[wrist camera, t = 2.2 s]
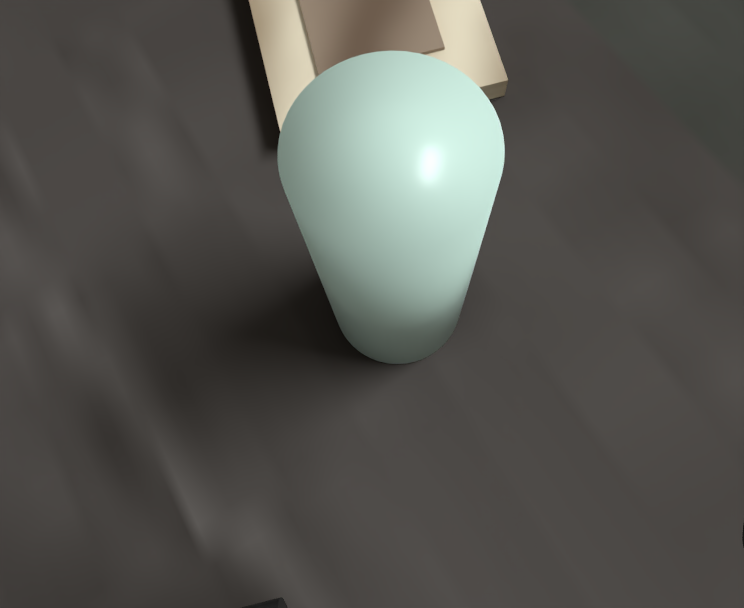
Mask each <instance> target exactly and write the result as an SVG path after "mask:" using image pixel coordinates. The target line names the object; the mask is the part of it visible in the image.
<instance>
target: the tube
mask: <svg viewBox="0 0 744 608" xmlns="http://www.w3.org/2000/svg"><path fill="white" fill-rule="evenodd" d="M504 151H505V147H504V138H503V132H502V128H501V124H500V121H499V119H498V116H497V114H496V111H495V109H494V107H493V106H492V104H491V102H490V101H489V99H488V97H487V96H486V95H485V94H484V92H483V91H482V90H481V89H480V87H479V86H478V85H477V84H476V83H475V82H473V81H472V80H471V79H470V78H469V77H468V76H467V75H465V74H464V73H463V72H461V71H460V70H458V69H457V68H455V67H453V66H451V65H450V64H448V63H446V62H444V61H441V60H439V59H436V58H434V57H431V56H427V55H424V54H420V53H414V52H408V51H378V52H372V53H367V54H362V55H359V56H356V57H352V58H349V59H347V60H345V61H342V62H340V63H338V64H336V65H334V66H332V67H331V68H329V69H327V70H326V71H324V72H323V73H321V74H320V75H319V76H317V77H316V78H315V79H314V80H312V81H311V82H310V83H309V84H308V85H307V86H306V87H305V88H304V89H303V91H302V92H301V93H300V94H299V96H298V97H297V98H296V99H295V101H294V102H293V104H292V106H291V107H290V109H289V111H288V113H287V115H286V118H285V120H284V122H283V125H282V128H281V132H280V136H279V142H278V168H279V174H280V179H281V182H282V185H283V188H284V191H285V193H286V196H287V198H288V201H289V203H290V206H291V208H292V211H293V213H294V216H295V218H296V221H297V223H298V226H299V228H300V231H301V233H302V235H303V238H304V240H305V243H306V245H307V248H308V250H309V253H310V255H311V258H312V260H313V263H314V265H315V268H316V270H317V273H318V275H319V278H320V280H321V282H322V285H323V287H324V290H325V292H326V295H327V297H328V300H329V302H330V305H331V307H332V310H333V312H334V315H335V317H336V320H337V322H338V325H339V327H340V329H341V331H342V333H343V334H344V336H345V337H346V339H347V340H348V341H349V342H350V344H351V345H352V346H353V347H354V348H356V349H357V350H358V351H359V352H361V353H362V354H364V355H365V356H367V357H369V358H371V359H374V360H377V361H379V362H384V363H389V364H406V363H411V362H416V361H419V360H422V359H424V358H426V357H428V356H430V355H431V354H433V353H435V352H436V351H437V350H438V349H440V348H441V347H442V346H443V345H444V344H445V343H446V342H447V340H448V339H449V338H450V336H451V335H452V333H453V332H454V329H455V327H456V325H457V322H458V319H459V316H460V313H461V310H462V306H463V303H464V299H465V296H466V293H467V289H468V286H469V283H470V279H471V276H472V273H473V269H474V266H475V263H476V259H477V256H478V253H479V249H480V246H481V242H482V239H483V236H484V232H485V229H486V226H487V222H488V219H489V216H490V212H491V209H492V206H493V202H494V199H495V196H496V192H497V189H498V185H499V182H500V179H501V175H502V170H503V165H504Z"/></svg>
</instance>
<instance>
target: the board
mask: <svg viewBox="0 0 744 608" xmlns="http://www.w3.org/2000/svg"><path fill="white" fill-rule="evenodd" d="M249 3H250V7H251V12H252V16H253V20H254V24H255V28H256V32H257V37H258V41H259V45H260V49H261V53H262V58H263V62H264V66H265V70H266V74H267V79H268V83H269V87H270V91H271V95H272V99H273V104H274V108H275V112H276V116H277V120H278V125H279V129H280V132H281V128H282V125H283V122H284V120H285V118H286V115H287V113H288V111H289V109H290V107H291V106H292V104H293V102H294V101H295V99H296V98H297V97H298V96H299V94H300V93H301V92H302V91H303V89H304V88H305V87H306V86H307V85H308V84H309V83H310V82H311V81H312V80H314V79H315V78H316V77H317V76H319V75H320V74H321V73H323V72H324V71H326V70H327V69H329V68H331V67H332V66H334V65H336V64H338V63H340V62H342V61H345V60H347V59H349V58H352V57H356V56H359V55H362V54H367V53H372V52H378V51H408V52H414V53H420V54H424V55H427V56H431V57H434V58H436V59H439V60H441V61H444V62H446V63H448V64H450V65H451V66H453V67H455V68H457V69H458V70H460V71H461V72H463V73H464V74H465V75H467V76H468V77H469V78H470V79H471V80H472V81H473V82H475V83H476V84H477V85H478V86H479V87H480V89H481V90H482V91H483V92H484V94H485V95H486V96H487V97H488V99H493V98H497V97H501V96H504V95H505V90H506V86H507V82H508V79H507V76H506V73H505V70H504V67H503V64H502V61H501V59H500V56H499V53H498V50H497V47H496V44H495V42H494V39H493V36H492V33H491V30H490V27H489V24H488V22H487V19H486V16H485V13H484V10H483V7H482V5H481V2H480V0H249Z"/></svg>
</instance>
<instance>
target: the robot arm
mask: <svg viewBox="0 0 744 608" xmlns="http://www.w3.org/2000/svg"><path fill="white" fill-rule="evenodd" d="M743 546H744V525H743ZM242 608H287V605H286V603H285V601H284V599H283V598H277V599H273V600H269V601H265V602H261V603H257V604H254V605H250V606H246V607H242Z"/></svg>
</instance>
